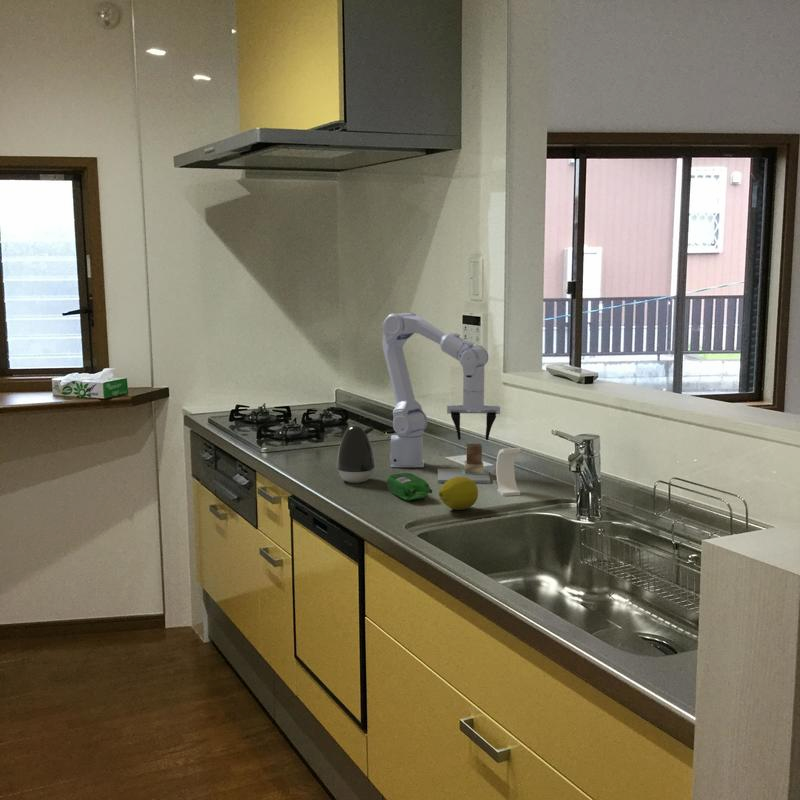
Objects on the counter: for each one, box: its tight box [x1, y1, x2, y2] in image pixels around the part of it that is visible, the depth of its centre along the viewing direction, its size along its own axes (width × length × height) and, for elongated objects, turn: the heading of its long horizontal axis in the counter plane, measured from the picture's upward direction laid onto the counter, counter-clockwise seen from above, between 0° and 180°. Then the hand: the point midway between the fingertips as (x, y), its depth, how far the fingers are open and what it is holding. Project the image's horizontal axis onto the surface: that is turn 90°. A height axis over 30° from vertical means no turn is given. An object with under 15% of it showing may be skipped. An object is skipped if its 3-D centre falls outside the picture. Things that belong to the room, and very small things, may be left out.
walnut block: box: [466, 443, 483, 465], centre depth 262 cm, size 4×4×5 cm
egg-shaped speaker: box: [336, 424, 375, 484], centre depth 255 cm, size 10×10×15 cm
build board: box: [437, 468, 491, 484], centre depth 260 cm, size 14×14×1 cm
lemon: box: [438, 477, 479, 511], centre depth 226 cm, size 11×8×8 cm
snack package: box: [386, 472, 433, 501], centre depth 239 cm, size 7×16×5 cm, turn 22°
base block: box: [464, 460, 484, 474], centre depth 263 cm, size 5×5×2 cm
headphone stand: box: [495, 447, 522, 497], centre depth 242 cm, size 5×6×12 cm
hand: (473, 439), depth 263 cm, fingers open, 7 cm apart
